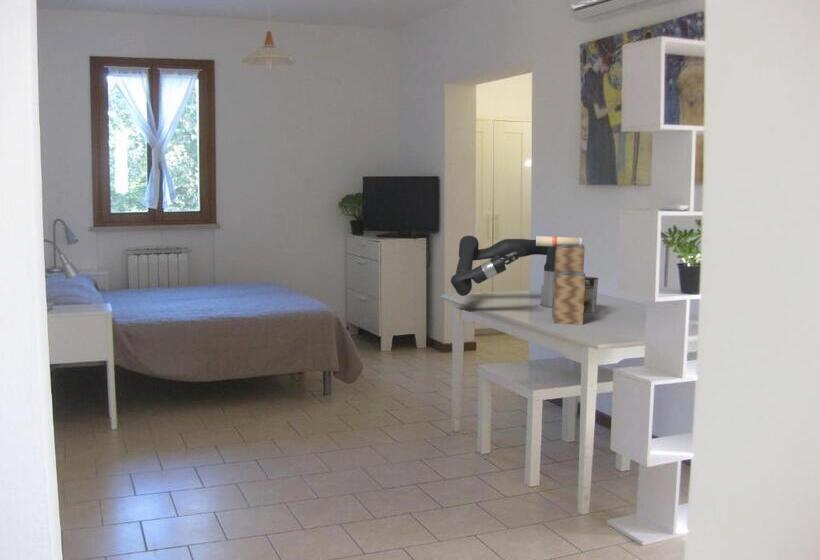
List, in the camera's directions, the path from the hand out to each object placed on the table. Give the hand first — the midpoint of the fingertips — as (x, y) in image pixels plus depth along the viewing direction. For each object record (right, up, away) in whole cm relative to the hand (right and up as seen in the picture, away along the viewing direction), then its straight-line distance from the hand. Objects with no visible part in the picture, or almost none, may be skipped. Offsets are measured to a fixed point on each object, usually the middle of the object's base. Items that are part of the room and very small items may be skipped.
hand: (525, 250), depth 394 cm
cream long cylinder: (+14, +2, -1) cm, 15 cm away
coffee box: (+32, -28, +26) cm, 50 cm away
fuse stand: (+18, -31, -2) cm, 36 cm away
